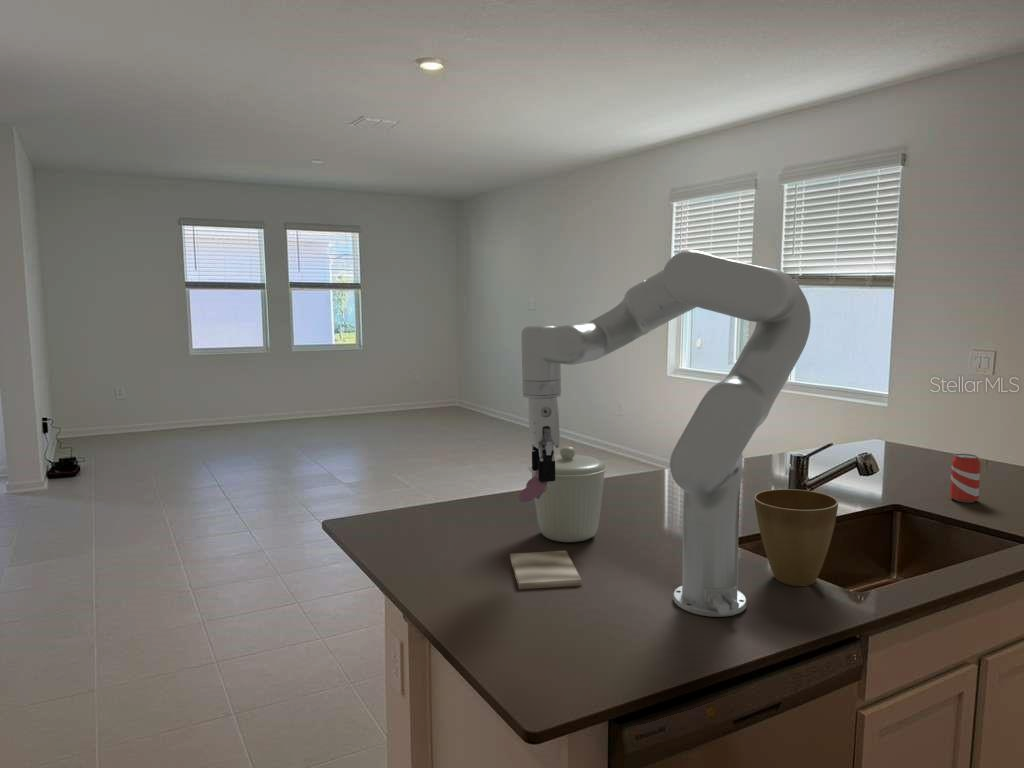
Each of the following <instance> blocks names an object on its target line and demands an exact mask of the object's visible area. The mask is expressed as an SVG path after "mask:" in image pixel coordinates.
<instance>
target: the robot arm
mask: <svg viewBox="0 0 1024 768" xmlns="http://www.w3.org/2000/svg"><path fill="white" fill-rule="evenodd" d="M696 308H699V309H703V310H707V311H710V312H714V313H719V314H722V315H725V316H728V317H733V318H736V319H739V320H744V321H747V322H755V328H754V330H753V332H752V334H751V335H750V337H749V339H748V340H747V342H746V343H745V345H744V347H743V348H742V350H741V353H740V354H739V356H738V358H737V360H736V362H735V363H734V365H733V366H732V368H731V370H730V371H729V373H728V374H727V375H726V377H725V378H724V379H722V380H721V381H719V382H717V383H715V384H714V385H713V386H712V387H711V388H709V390H708V391H706V393H705V394H704V395H703V397H702V399H701V400H700V402H699V404H698V405H697V406H696V409H695V410H694V412H693V414H692V416H691V418H690V419H689V421H688V423H687V425H686V427H685V428H684V430H683V431H682V434H681V435H680V437H679V438H678V441H677V443H676V444H675V446H674V448H673V449H672V452H671V455H670V460H669V469H670V475H671V476H672V479H673V481H674V482H675V484H676V485H677V486H678V487H679V488H680V489H681V490H683V500H682V501H683V502H682V504H683V505H682V508H683V509H682V513H683V514H682V571H681V572H682V573H681V574H682V575H681V576H682V578H681V579H682V583H681V584H682V585H680V586H678V587H677V588H675V590H673V595H672V596H673V598H672V599H673V601H674V604H676V605H677V606H678V607H679V608H680V609H682V610H684V611H686V612H687V613H688V612H689V613H691V614H695V615H699V616H704V617H712V618H721V617H722V618H723V617H724V618H725V617H730V616H732V617H733V616H735V615H738V614H741V613H743V612H744V610H745V609H746V608H747V602H748V601H747V598H746V596H745V594H743V593H742V592H741V591H740V590H738V588H739V586H738V585H739V584H738V582H739V577H738V576H739V538H740V537H739V531H740V530H739V528H740V527H739V526H740V524H739V523H740V522H739V521H740V499H741V498H740V495H741V485H742V475H743V473H742V472H743V462H744V461H743V459H744V458H743V457H744V456H743V452H744V450H745V448H746V447H747V445H748V443H749V442H750V440H751V439H752V437H753V435H754V434H755V432H756V431H757V429H758V428H759V427H760V426H761V425H762V424H763V423H764V422H765V420H766V419H767V418H768V416H769V413H770V411H771V409H772V407H773V405H774V403H775V401H776V399H777V397H778V396H779V395H780V392H782V389H783V387H784V386H785V384H786V382H787V381H788V379H789V377H790V375H791V373H792V372H793V369H794V367H795V366H796V365H797V362H798V360H799V359H800V357H801V356H802V353H803V352H804V349H805V347H806V345H807V341H808V338H809V335H810V330H811V323H812V322H811V318H812V317H811V311H810V306H809V303H808V300H807V298H806V296H805V294H804V291H803V290H802V289H801V287H800V286H799V284H798V283H797V282H796V281H795V280H794V279H793V277H791V276H790V275H789V274H788V273H786V272H783V271H782V270H779V269H776V268H769V267H765V266H760V265H754V264H750V263H746V262H741V261H737V260H734V259H728V258H725V257H721V256H716V255H713V254H712V253H709V252H705V251H702V250H696V249H688V250H687V249H686V250H683V251H680V252H678V253H675V255H674V256H673V255H672V256H671V258H670V259H669V260H668V261H667V263H665V266H664V268H663V269H662V270H661V271H659V272H657V273H655V274H653V275H651V276H650V277H648V278H646V279H644V280H642V281H641V282H639V283H638V284H635V285H634V286H632V287H630V288H629V289H628V290H627V291H626V292H625V294H624V297H623V299H622V301H620V302H619V303H618V304H617V305H616V306H614V307H613V308H612V309H610V310H608V311H607V312H605V313H603V314H601V315H599V316H598V317H596V318H593V319H592V320H590V321H588V322H581V323H574V324H573V323H572V324H571V323H570V324H565V325H558V326H555V325H551V324H549V325H547V324H544V325H543V324H541V325H540V324H538V325H527V326H525V327H524V328H523V329H522V330H521V372H522V373H521V376H522V382H521V383H522V384H521V385H522V397H523V398H527V399H528V403H527V405H528V429H529V430H528V431H529V440H530V442H531V443H532V445H531V450H532V451H531V464H532V470H533V471H537V470H538V476H539V481H540V482H549V481H555V457H554V455H555V451H554V450H555V449H554V447H555V448H556V449H558V448H559V447H560V446H561V434H560V416H559V415H560V414H559V405H558V403H559V402H558V398H559V397H561V396H562V380H561V379H562V378H561V377H562V374H561V373H562V372H561V371H562V369H561V364H562V365H569V366H570V365H571V366H572V365H578V364H583V363H588V362H592V361H597V360H599V359H601V358H603V357H605V356H607V355H609V354H611V353H613V352H615V351H617V350H619V349H621V348H623V347H625V346H626V345H628V344H630V343H632V342H634V341H636V340H637V339H639V338H641V337H643V336H646V335H647V334H649V333H650V332H651V331H653V330H655V329H657V328H659V327H661V326H663V325H665V324H666V323H669V322H670V321H672V320H674V319H676V318H678V317H679V316H682V315H684V314H685V313H688V312H690V311H692V310H694V309H696Z"/></svg>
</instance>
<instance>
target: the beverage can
mask: <svg viewBox="0 0 1024 768" xmlns="http://www.w3.org/2000/svg"><path fill="white" fill-rule="evenodd" d="M981 464H982V463H981V462H980V460H979V456H978V455H976V454H972V453H955V454H954V457H952V459H951V467H950V468H951V470H950V485H949V487H950V488H949V497H950V498H952V499H953V500H954V501H956V502H960V503H968V504H969V503H970V504H971V503H974V502H975V501H979V499H980V498H979V496H980V495H979V494H980V480H981V478H980V477H981Z"/></svg>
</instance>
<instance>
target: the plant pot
mask: <svg viewBox="0 0 1024 768" xmlns="http://www.w3.org/2000/svg"><path fill="white" fill-rule="evenodd" d="M753 499H754V505H755V511H756V517H757V524H758V527H759V529H758V530H759V533H760V537H761V541H762V543H763V544H762V545H763V548H764V552H765V554H766V557H767V561H768V563H769V566H770V569H771V572H772V574H773V578H774V579H775V580H776V581H778V582H780V583H782V584H785V585H789V586H796V587H805V586H810V585H813V584H815V583H816V581H817V579H818V576H819V574H820V572H821V570H822V568H823V565H824V564H825V563H824V562H825V560H826V557H827V555H828V551H829V548H830V544H831V541H832V537H833V533H834V530H835V525H836V520H837V514H838V509H839V508H838V507H839V500H838V499H837V497H836V498H835V497H834V496H831V495H829V494H826V493H824V492H823V493H822V492H820V491H819V492H818V491H813V490H806V489H798V488H796V489H795V488H794V489H793V488H792V489H790V488H784V489H783V488H780V489H779V488H777V489H769V490H768V489H767V490H762V491H760V492H757V493H756V494H754V498H753Z"/></svg>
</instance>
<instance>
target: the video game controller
mask: <svg viewBox="0 0 1024 768" xmlns="http://www.w3.org/2000/svg"><path fill="white" fill-rule="evenodd" d="M546 489H547V490H548V489H549V486H548V482H540V481H539V476H538V470H537V471H536V473H535V476H534V477H533V478H532V477H531V478H530V479H529V480H528V481H527V483H526V485H525V488H524V489H522V490H521V491H520V493H519V494H518V500H519V501H520V502H521V503H528V502H531V501H532V500H535V498H537V499H539V498H540V496H541V495H542V493H543V492H545V491H547V490H546Z"/></svg>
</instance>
